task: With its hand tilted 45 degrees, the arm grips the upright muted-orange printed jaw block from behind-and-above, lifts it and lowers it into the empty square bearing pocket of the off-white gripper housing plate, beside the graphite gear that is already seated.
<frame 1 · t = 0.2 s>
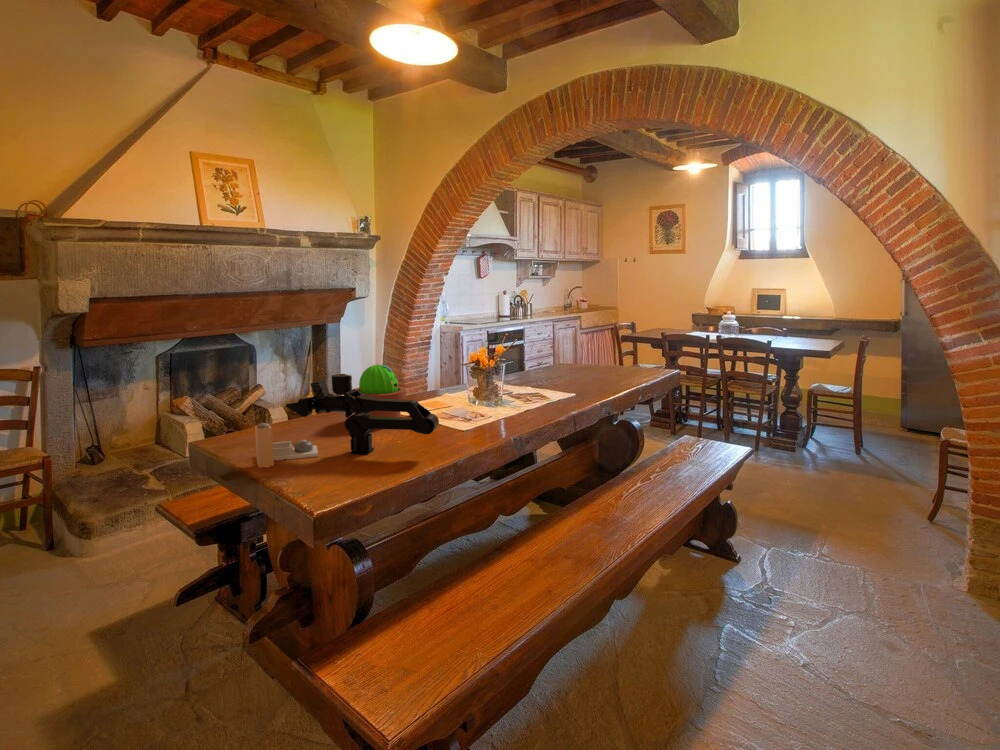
hand: (292, 403, 207), 16 cm above the table, tool horizontal, fingers open, 9 cm apart
housing: (290, 454, 202), on the table
potted cactus: (379, 421, 249), on the table
jaw block: (265, 465, 190), on the table
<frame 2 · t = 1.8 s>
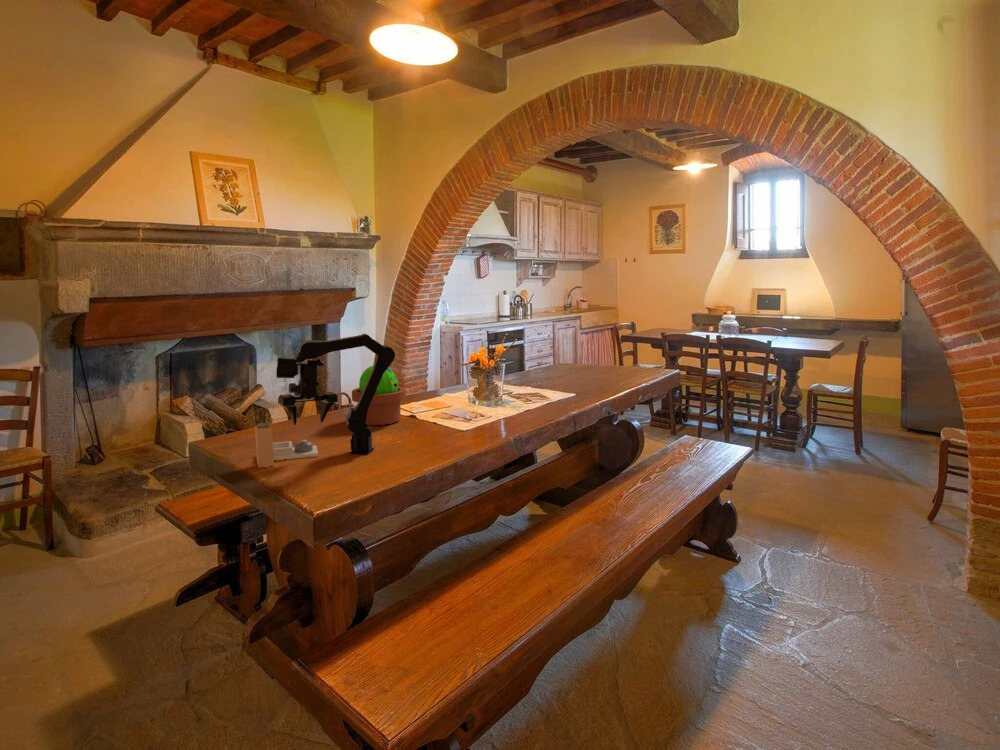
hand: (308, 423, 198), 12 cm above the table, tool pointing down, fingers open, 9 cm apart
nothing on the table moved.
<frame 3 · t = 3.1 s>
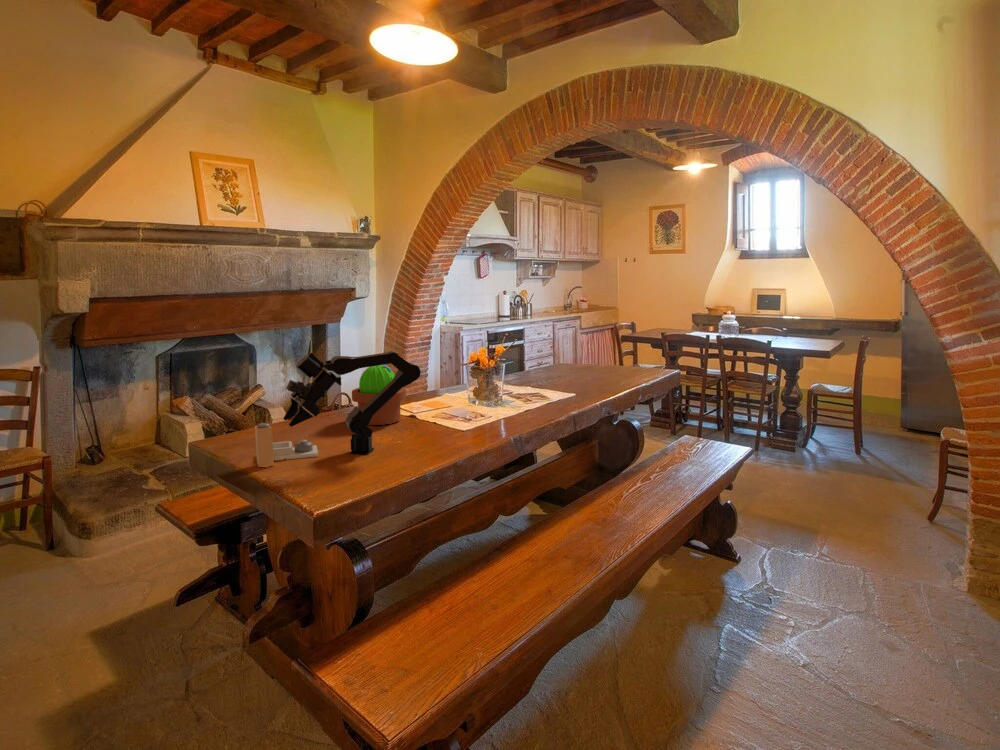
hand: (287, 422, 192), 13 cm above the table, tool tilted 45°, fingers open, 9 cm apart
nothing on the table moved.
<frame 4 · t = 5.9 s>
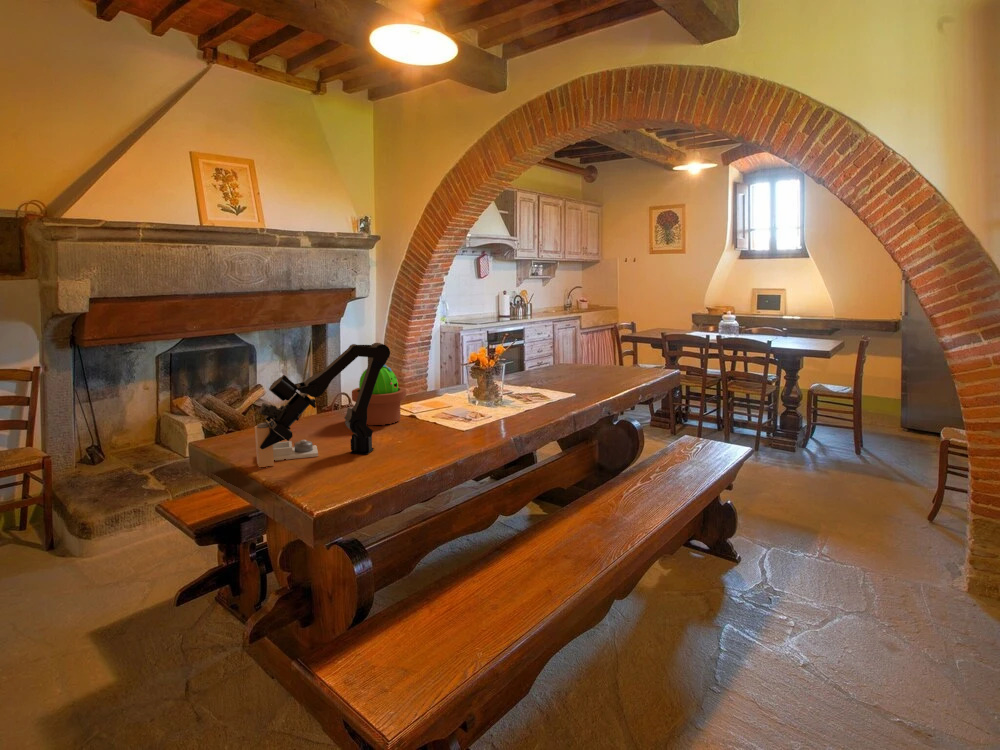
hand: (259, 446, 189), 7 cm above the table, tool tilted 45°, fingers closed on jaw block, 4 cm apart
jaw block: (265, 465, 190), on the table, touching gripper
everything else where it was.
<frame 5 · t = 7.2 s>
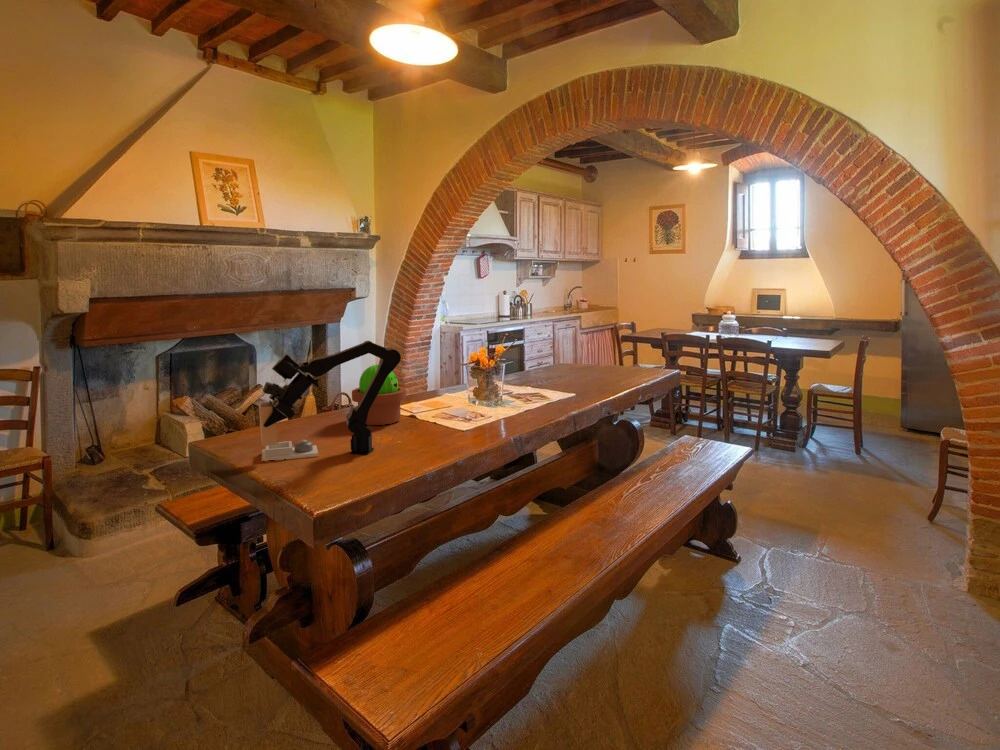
hand: (263, 424, 192), 13 cm above the table, tool tilted 45°, fingers closed on jaw block, 4 cm apart
jaw block: (269, 443, 193), point 6 cm above the table, touching gripper
everything else where it was.
when the fingers open (9 cm above the table, at t = 8.9 s): jaw block drops 1 cm, resting on housing.
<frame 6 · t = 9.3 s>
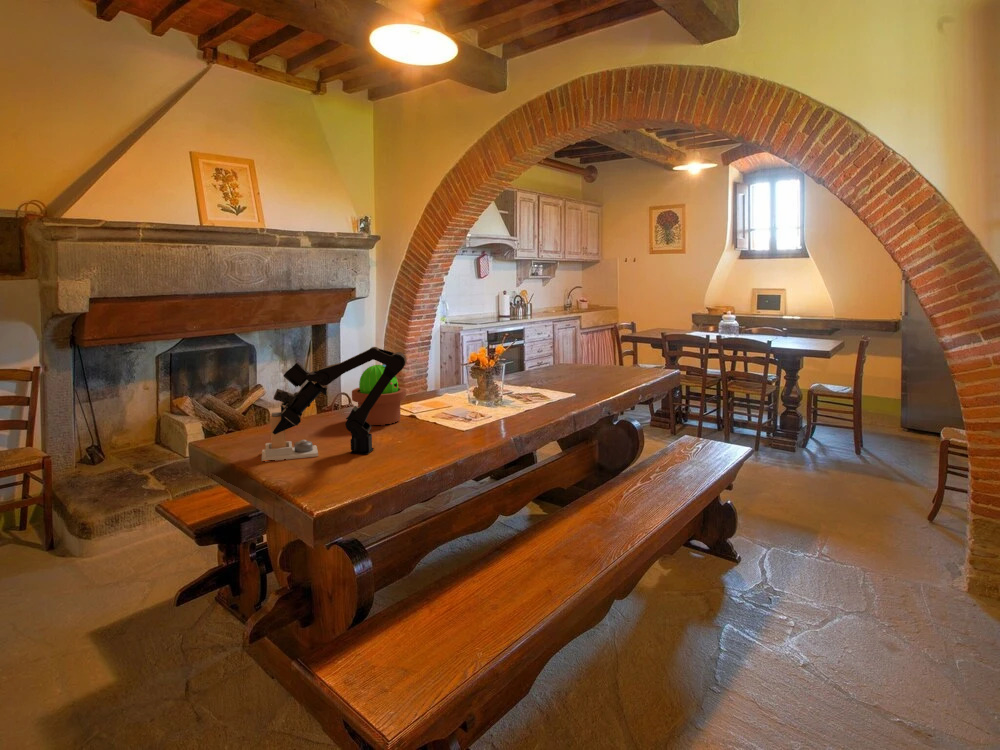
hand: (273, 430, 199), 9 cm above the table, tool tilted 45°, fingers open, 9 cm apart
jaw block: (279, 452, 200), point 1 cm above the table, touching housing
everything else where it was.
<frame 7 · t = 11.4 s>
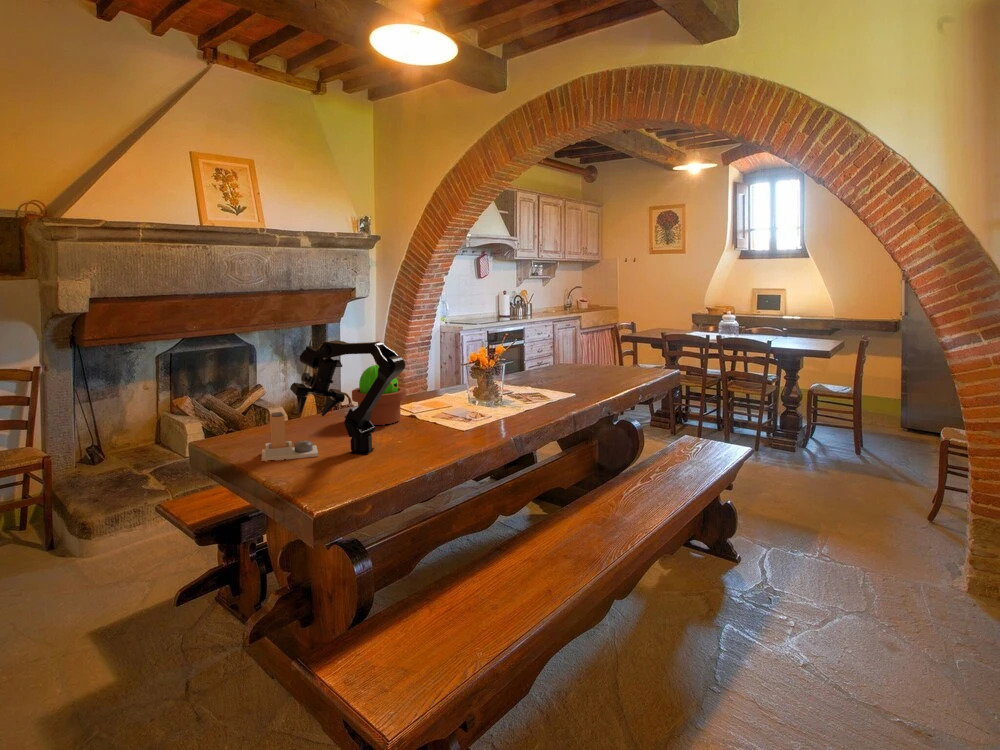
hand: (310, 414, 209), 12 cm above the table, tool tilted 20°, fingers open, 9 cm apart
nothing on the table moved.
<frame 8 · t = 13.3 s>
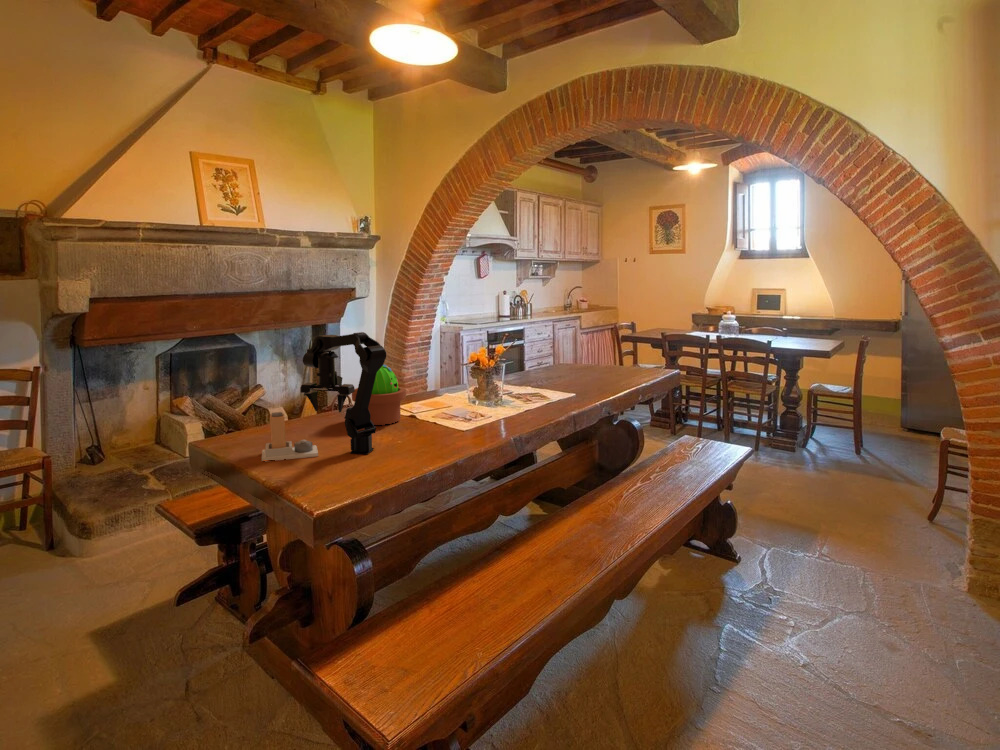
hand: (328, 411, 214), 12 cm above the table, tool pointing down, fingers open, 9 cm apart
nothing on the table moved.
at the end: jaw block 0.1 cm from the target spot on the housing, point 1.2 cm above the housing's base; jaw block tilted 0°; the gripper is holding nothing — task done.
